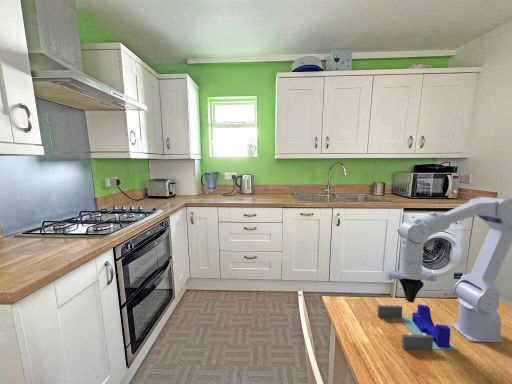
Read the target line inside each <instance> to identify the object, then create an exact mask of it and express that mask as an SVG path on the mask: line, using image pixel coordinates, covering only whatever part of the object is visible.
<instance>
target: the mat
mask: <svg viewBox="0 0 512 384" xmlns="http://www.w3.org/2000/svg"><path fill="white" fill-rule="evenodd" d="M398 319H399V320H400V321H401V322H402V323H403V325H405V327H406V328H407V329H409V331H410V333H412V334H413V335H423V332H421V331H420V330H419V329H418V327H417V326H416V325H415V323H414V322H413V321H412V316H411V317H410V316H402V318H398ZM425 334H427V333H425ZM427 335H428V334H427ZM433 350H434V351H436V350H439V351H443V350H444V351H457V349H456V348H455V347H454V346H452V344H450V346H449V348H444V347H438V346H437V345H436V344H435V343H434V341H433Z"/></svg>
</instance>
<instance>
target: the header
mask: <svg viewBox="0 0 512 384" xmlns="http://www.w3.org/2000/svg"><path fill="white" fill-rule="evenodd" d="M376 317H378V318H383V319H384V318H385V319H388V318H389V319H399V318H402V317H403V306H402V305H398V304H397V303H394V304H393V305H386V303H382V305H381V304H377V316H376ZM401 338H402V340H401V348H402V349H403V350H404V351H426V352H427V351H428V352H429V351H430V352H431V351H433V350H434V349H433V337H432V336H431V335H427V334H425V333H423V335H414V334H413V333H412V332H408V334H406V333H405V334H402V337H401Z"/></svg>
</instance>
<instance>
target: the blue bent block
mask: <svg viewBox="0 0 512 384" xmlns="http://www.w3.org/2000/svg"><path fill="white" fill-rule="evenodd" d="M411 317H412V321H413V322H414V323H415V325H416V326H417V327H418V329H419V330H420V331H421V332H423V333H427V334H428V335H431V336H432V337H433V341H434V343H435V344H436V345H437V346H438V347H444V348H449V346H450V345H451V344H450V342H451V327H449V326H448V325H445V324H437V323H436V324H435V323H434V322H433V319H432V315H431V307H430V306H429V305H426V304H425V305H424V304H417V311H416V312H415V311H414V312H412V315H411Z"/></svg>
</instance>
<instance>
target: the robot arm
mask: <svg viewBox="0 0 512 384" xmlns="http://www.w3.org/2000/svg"><path fill="white" fill-rule="evenodd" d="M476 216H477V217H478V218H479V219H480V220H482V221H483V222H484V223H485V224H486V225H487V227H488V228H489V230H488V232H487V234H486V236H485V239H484V241H483V244H482V246H481V249H479V250H480V251H479V252H478V255H477V258H476V260H475V261H474V264H473V267H472V269H471V271H470V273H468V274H463V275H461V277H460V279H458V281H457V282H456V283H455V284H454V285H453V293H454V295H455V296H456V297H457V301H458V316H457V323H455V322H453V323H452V322H450V327H452V328H454V329H455V330H456V331H458V333H460V335H462V336H464V337H465V339H467V340H468V341H469V342H481V343H503V342H504V341H503V339H502V338H501V331H502V330H501V328H502V320H501V319H502V318H501V316H500V314H499V313H498V311H497V310H498V309H499V307H500V297H501V295H502V293H501V291H500V289H499V288H498V287H497V285H496V283H495V282H496V280H497V277H498V275H499V272H500V270H501V267H502V266H503V263H504V262H505V258H506V257H507V254H508V252H509V250H510V249H511V246H512V198H499V197H487V196H477V197H475V198H471V199H469V201H467V202H465V203H464V204H461V205H459V206H457V207H455V208H452V209H450V210H448V211H446V212H444V213H441V212H438V211H437V212H435V211H430V212H429V213H428V215H426V216H423V217H421V218H418V217H417V218H415V219H414V220H413V221H409V220H407V221H404V222H403V223H401V224H400V226H399V228H398V229H397V234H398V236H400V244H401V245H400V266H399V267H400V269H398V270H392V271H391V270H390V271H385V278H386V279H387V280H388V281H392V280H398V281H399V282H400V286H401V287H402V289H403V293H404V297H405V300H406V301H407V302H408V303H411V304H413V303H414V302H415V300H416V297H417V295H418V294H419V292H420V290H421V289H422V288H423V287H424V282H423V281H422V280H429V281H430V280H431V281H433V282H436V281H437V274H436V273H435V272H432V271H423V259H424V258H423V256H424V243H426V242H427V240H428V239H429V237H431V236H433V235H436V234H438V233H441V232H444V231H446V230H448V229H450V227H451V224H455V223H457V222H459V221H462V220H465V219H469V218H472V217H476Z"/></svg>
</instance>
